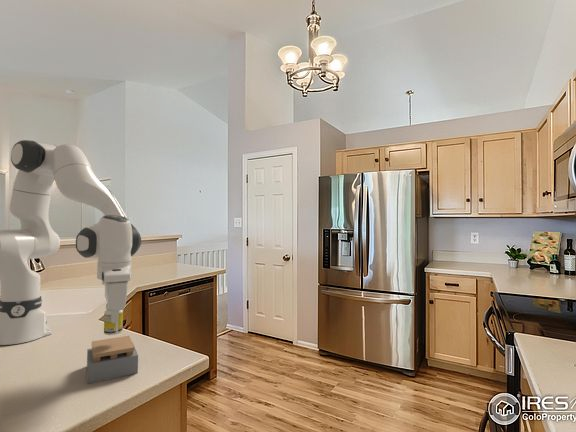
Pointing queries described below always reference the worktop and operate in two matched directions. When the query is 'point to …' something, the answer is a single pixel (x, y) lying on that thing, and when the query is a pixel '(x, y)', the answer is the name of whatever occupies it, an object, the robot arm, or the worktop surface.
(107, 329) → the supplement bottle
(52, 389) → the worktop surface
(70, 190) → the robot arm
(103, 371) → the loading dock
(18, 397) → the worktop surface
